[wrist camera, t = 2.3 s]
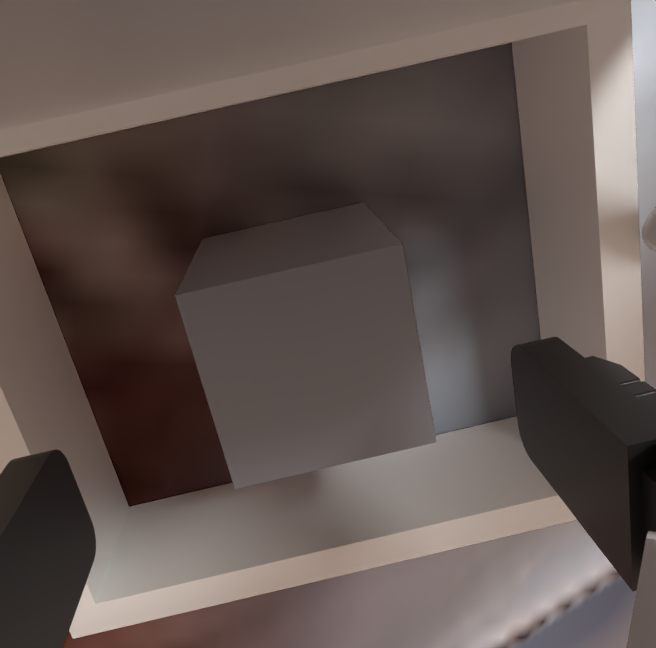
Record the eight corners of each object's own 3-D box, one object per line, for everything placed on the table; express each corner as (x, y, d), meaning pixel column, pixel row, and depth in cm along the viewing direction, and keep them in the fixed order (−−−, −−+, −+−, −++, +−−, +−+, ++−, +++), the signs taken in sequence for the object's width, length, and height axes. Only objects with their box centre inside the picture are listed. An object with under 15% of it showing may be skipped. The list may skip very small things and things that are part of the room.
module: (363, 201, 19) (402, 243, 13) (391, 350, 21) (436, 442, 15) (202, 238, 19) (174, 295, 13) (244, 383, 21) (234, 489, 15)
